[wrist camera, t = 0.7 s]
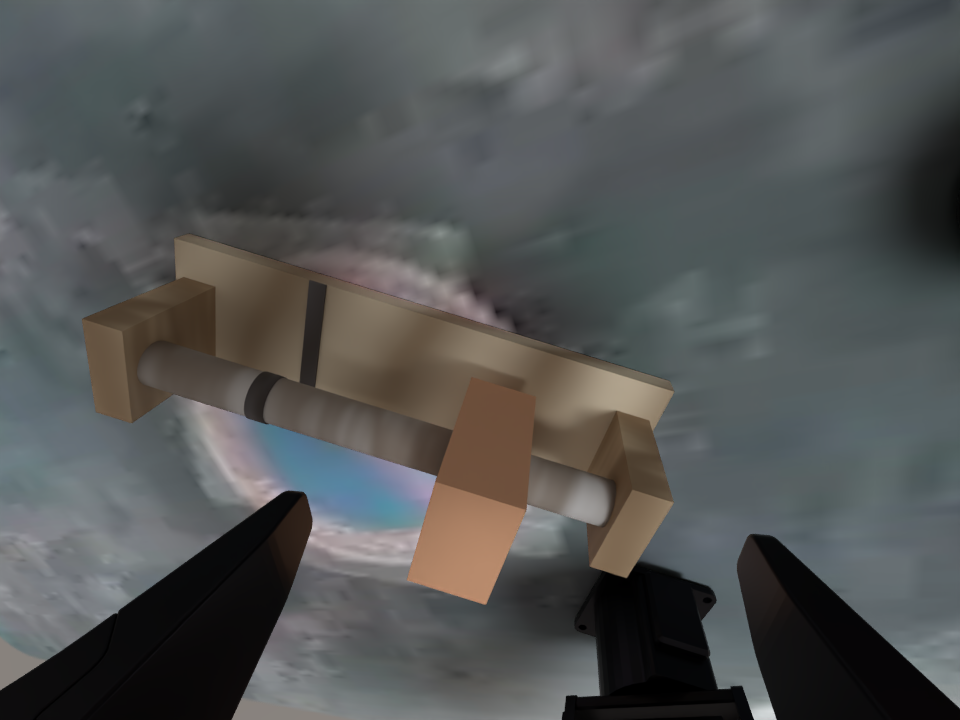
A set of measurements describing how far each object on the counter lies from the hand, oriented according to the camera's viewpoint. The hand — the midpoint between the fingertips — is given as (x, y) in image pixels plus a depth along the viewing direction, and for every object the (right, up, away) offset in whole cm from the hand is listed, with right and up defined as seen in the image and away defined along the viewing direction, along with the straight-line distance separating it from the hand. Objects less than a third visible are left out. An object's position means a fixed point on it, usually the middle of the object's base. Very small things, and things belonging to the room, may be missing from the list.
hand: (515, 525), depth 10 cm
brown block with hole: (0, 0, +13) cm, 13 cm away
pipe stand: (-4, +3, +15) cm, 16 cm away
